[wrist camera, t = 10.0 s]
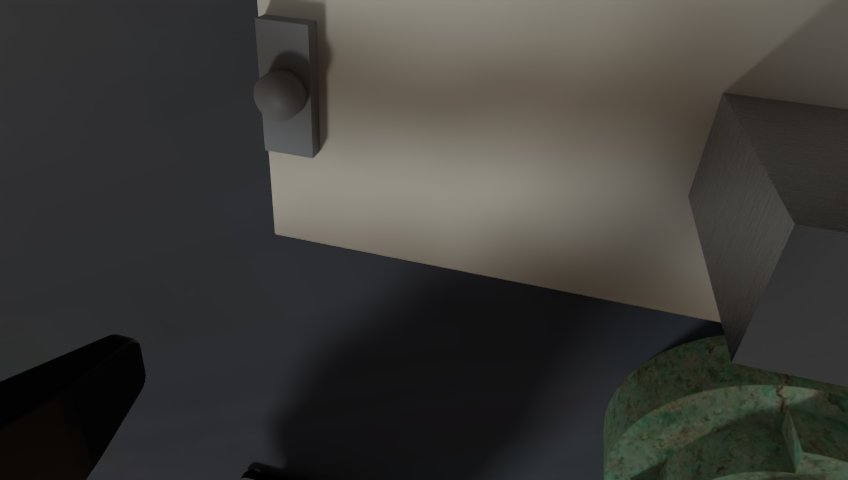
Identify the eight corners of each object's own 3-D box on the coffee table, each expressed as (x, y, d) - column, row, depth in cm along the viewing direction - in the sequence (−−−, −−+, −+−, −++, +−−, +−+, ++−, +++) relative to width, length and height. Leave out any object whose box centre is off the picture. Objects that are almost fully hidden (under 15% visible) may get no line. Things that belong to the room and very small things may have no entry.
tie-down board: (1150, 387, 18) (1214, 447, 16) (287, 220, 22) (259, 251, 20) (1550, -19, 12) (1725, 0, 10) (265, -129, 16) (223, -129, 15)
